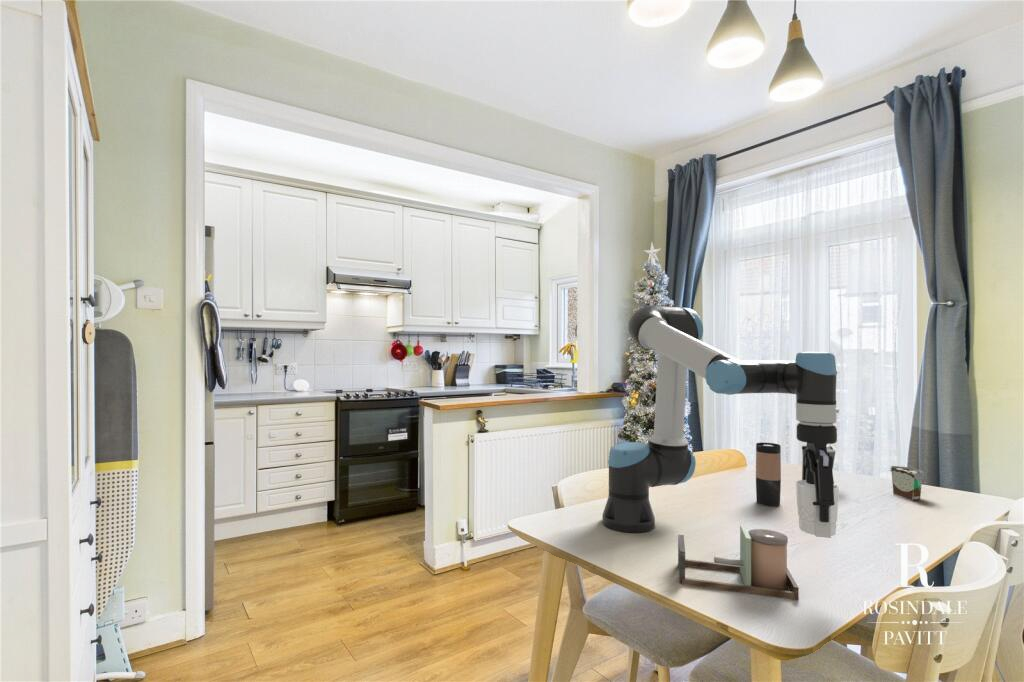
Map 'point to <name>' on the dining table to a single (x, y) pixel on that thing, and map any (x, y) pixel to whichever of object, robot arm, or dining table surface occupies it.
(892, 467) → the food container
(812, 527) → the white cup
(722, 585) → the brown wooden rack
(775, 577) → the terracotta jar
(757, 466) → the travel mug
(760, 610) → the dining table surface
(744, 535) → the pusher plate
